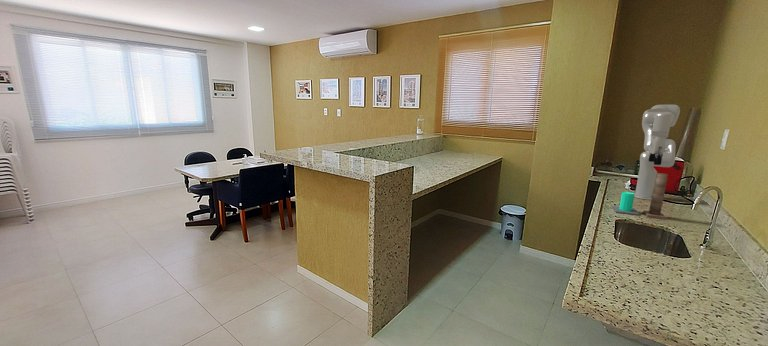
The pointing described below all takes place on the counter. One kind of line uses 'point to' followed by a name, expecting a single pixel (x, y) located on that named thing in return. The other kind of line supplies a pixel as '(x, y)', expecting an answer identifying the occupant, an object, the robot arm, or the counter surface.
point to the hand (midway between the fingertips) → (654, 163)
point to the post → (657, 197)
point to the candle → (626, 201)
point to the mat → (617, 210)
